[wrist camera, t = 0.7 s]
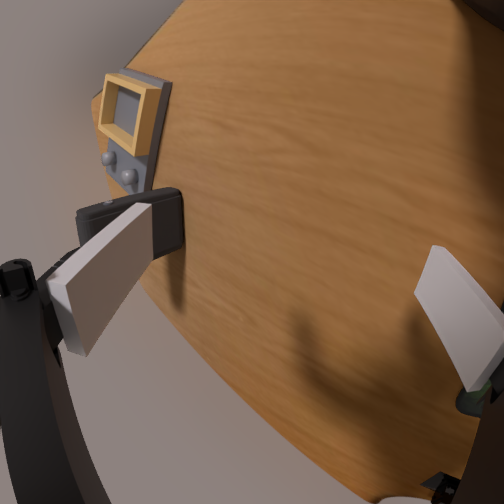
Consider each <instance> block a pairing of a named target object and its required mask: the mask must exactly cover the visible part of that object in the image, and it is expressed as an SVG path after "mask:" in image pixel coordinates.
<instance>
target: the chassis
mask: <svg viewBox="0 0 504 504" xmlns="http://www.w3.org/2000/svg"><path fill="white" fill-rule="evenodd" d="M171 86H172V82H170V81H167V80H164V79H161V78H158V77H155V76H152V75H149V74H145V73H142V72H139V71H136V70H132V69H129V68H120V71H119V74H106V77H105V82H104V88H103V94H102V101H101V108H100V115H99V123H98V129H99V130H101V131H102V132H103V133H104V134H106V135H107V136H108V137H109V141H108V150H107V152H106V153H103V154H102V164H103V166H106V172H107V173H108V174H109V175H110V176H111V177H112V178H113V179H114V180H115V181H116V182H117V183H118V184H119V185H120V186H121V187H122V188H123V189H124V190H125V191H126V192H127V193H128V194H129V195H132V194H137V193H141V192H146V191H151V188H152V181H153V175H154V169H155V163H156V157H157V151H158V146H159V141H160V136H161V131H162V126H163V121H164V116H165V112H166V107H167V103H168V98H169V94H170V90H171Z"/></svg>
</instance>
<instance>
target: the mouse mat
mask: <svg viewBox="0 0 504 504" xmlns="http://www.w3.org/2000/svg"><path fill="white" fill-rule="evenodd" d="M501 312H502V313H503V314H504V303H503V305H502V308H501ZM491 385H492V383H491V382H490V380H489V379H488V381H487V382H486V383H485V384H484V386H483V387H482V388H481V389H480V390H478V391H472V392H467V391H466V389H465V387H463V389H462V390H461V392H460V394H459V396H458V397H457V400H456V408H457V409H458V410H459V411H460V412H461V413H463V414H466V415H470V416H474V417H479V418H481V415H482V411H483V409H482V408H481V406H482V405H483V404H484V402H481V403H480V404H479V405H478V406H476V404H477V402H478V401H479V399H480V398H481V397H482V396H483V395H484V394H485V392H486V391H487V390H488V389H489V387H490V386H491Z"/></svg>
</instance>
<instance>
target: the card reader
mask: <svg viewBox="0 0 504 504" xmlns="http://www.w3.org/2000/svg"><path fill="white" fill-rule="evenodd" d="M135 203H146V204H152V239H153V260H155V259H157V258H159V257H162V256H164V255H166V254H169V253H171V252H173V251H175V250H178V249H180V248H181V247H182V243H183V229H182V209H181V195H180V194H179V190H178V189H176V188H171V187H166V188H161V189H156V190H151V191H146V192H141V193H137V194H132V195H129V196H125V197H121V198H117V199H113V200H109V201H106V202H102V203H98V204H95V205H91V206H88V207H85V208H82V209H79V210H77V212H76V213H77V216H76V224H77V231H78V236H79V241H80V247H82V246H83V245H85V244H86V243H87V242H88V241H89V240H91V239H92V238H93V237H94V236H95V235H96V234H98V233H99V232H100V231H101V230H102V229H104V228H105V227H106V226H107V225H109V224H110V223H111V222H112V221H114V220H115V219H116V218H117V217H119V216H120V215H121V214H122V213H124V212H125V211H126V210H127V209H129V208H130V207H131V206H133V205H134V204H135ZM153 260H152V261H153Z"/></svg>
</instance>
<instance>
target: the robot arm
mask: <svg viewBox="0 0 504 504" xmlns="http://www.w3.org/2000/svg"><path fill="white" fill-rule="evenodd" d="M463 1H464V2H465V3H466V4H468V5H469V6H470V7H471V8H472V9H473V10H474V11H476V12H477V13H478V14H479V15H481V16H482V17H483V18H485V19H486V20H488V21H489V22H490V23H492V24H493V25H495V26H497V27H498V28H500V29H502V30H503V31H504V0H463ZM152 260H153V239H152V204H146V203H135V204H134V205H133V206H131V207H130V208H129V209H127V210H126V211H125V212H124V213H122V214H121V215H120V216H119V217H117V218H116V219H115V220H114V221H112V222H111V223H110V224H109V225H107V226H106V227H105V228H104V229H102V230H101V231H100V232H99V233H98V234H96V235H95V236H94V237H93V238H92V239H91V240H89V241H88V242H87V243H86V244H85V245H83V246H82V247H78V248H76V249H74V250H72V251H70V252H68V253H67V254H66V255H64V256H63V257H62V258H61V259H60V261H58V262H56V263H55V264H54V266H53V267H51V268H50V269H49V270H48V271H47V272H45V273H44V274H43V275H42V276H41V277H40V278H39V279H38V280H37V281H36V280H35V276H34V272H33V269H32V265H31V262H30V261H28V260H27V259H14V260H11V261H8V262H6V263H4V264H2V265H1V266H0V295H1V296H0V427H1V428H2V435H3V442H4V448H5V454H6V459H7V464H8V469H9V473H10V478H11V481H12V486H13V489H14V493H15V497H16V500H17V503H18V504H111V502H110V500H109V498H108V496H107V494H106V491H105V489H104V488H103V485H102V483H101V481H100V478H99V476H98V474H97V472H96V469H95V467H94V464H93V462H92V460H91V457H90V454H89V451H88V449H87V446H86V444H85V441H84V438H83V435H82V432H81V429H80V426H79V423H78V420H77V417H76V413H75V410H74V407H73V403H72V399H71V396H70V392H69V388H68V385H67V380H66V376H65V372H64V368H63V363H62V358H61V353H60V350H59V348H58V344H59V343H60V342H61V340H62V339H64V341H65V344H66V346H67V349H68V351H70V352H73V353H76V354H79V355H82V356H85V357H87V356H88V354H89V352H90V351H91V349H92V348H93V346H94V345H95V343H96V341H97V340H98V338H99V337H100V335H101V334H102V332H103V331H104V329H105V327H106V326H107V325H108V323H109V321H110V320H111V319H112V317H113V315H114V314H115V313H116V311H117V310H118V308H119V306H120V305H121V304H122V302H123V301H124V299H125V298H126V296H127V295H128V293H129V292H130V291H131V289H132V288H133V286H134V285H135V284H136V282H137V281H138V279H139V278H140V277H141V275H142V274H143V272H144V271H145V270H146V268H147V267H148V266H149V264H150V263H151V261H152ZM414 294H415V296H416V297H417V299H418V301H419V302H420V304H421V306H422V307H423V309H424V311H425V312H426V314H427V316H428V318H429V319H430V321H431V323H432V325H433V326H434V328H435V330H436V332H437V334H438V335H439V337H440V339H441V341H442V343H443V345H444V347H445V348H446V350H447V352H448V354H449V356H450V358H451V360H452V362H453V364H454V366H455V368H456V370H457V372H458V374H459V376H460V378H461V380H462V383H463V385H464V387H465V389H466V391H467V392H472V391H478V390H480V389H481V388H482V387H483V386H484V384H485V383H486V382H487V381H488V379H489V380H490V382H491V383H492V385H491V386H490V387H489V389H488V390H487V391H486V392H485V394H484V395H483V396H482V397H481V398H480V399H479V401H478V402H477V404H476V406H478V405H479V404H480V403H481V402H484V404H483V405H482V406H481V408H482V409H483V411H482V415H481V419H480V423H479V427H478V430H477V434H476V437H475V441H474V444H473V447H472V450H471V453H470V456H469V459H468V462H467V465H466V468H465V471H464V473H463V476H462V479H461V481H460V484H459V486H458V488H457V491H456V493H455V495H454V498H453V500H452V502H451V504H504V314H503V313H502V312H501V310H500V309H499V308H498V307H497V305H496V304H495V303H494V302H493V301H492V299H491V298H490V297H489V296H488V295H487V293H486V292H485V291H484V290H483V289H482V288H481V286H480V285H479V284H478V283H477V282H476V281H475V280H474V278H473V277H472V276H471V275H470V274H469V273H468V272H467V271H466V270H465V268H464V267H463V266H462V265H461V264H460V263H459V262H458V261H457V260H456V259H455V258H454V257H453V256H452V255H451V254H450V253H449V252H448V251H447V250H446V248H445V247H440V246H435V245H432V248H431V251H430V254H429V256H428V259H427V262H426V264H425V267H424V270H423V272H422V275H421V277H420V280H419V282H418V285H417V287H416V289H415V292H414Z"/></svg>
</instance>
